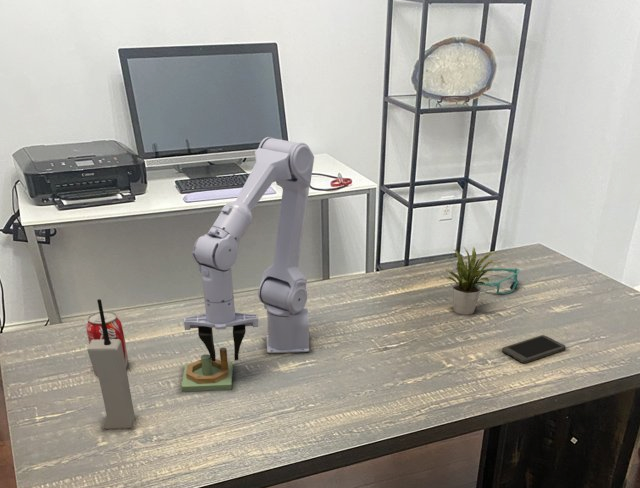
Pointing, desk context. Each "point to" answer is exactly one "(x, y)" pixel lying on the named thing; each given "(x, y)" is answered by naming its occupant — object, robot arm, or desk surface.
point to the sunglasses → (504, 279)
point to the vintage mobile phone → (112, 378)
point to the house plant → (468, 282)
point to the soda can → (112, 326)
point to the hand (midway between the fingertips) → (225, 358)
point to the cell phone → (533, 348)
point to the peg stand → (207, 371)
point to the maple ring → (217, 363)
